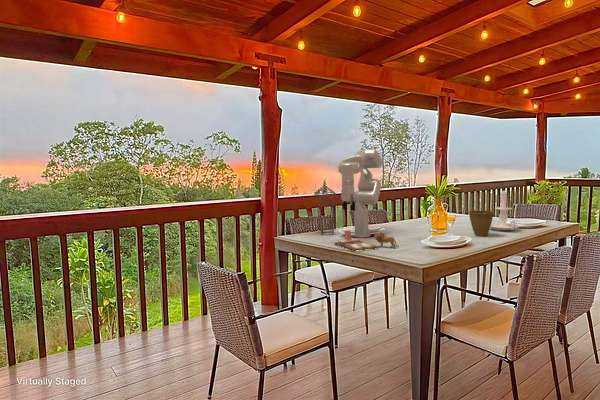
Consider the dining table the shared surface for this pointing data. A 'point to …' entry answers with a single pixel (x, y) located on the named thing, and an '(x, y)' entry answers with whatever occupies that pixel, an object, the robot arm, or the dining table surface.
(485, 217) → the plant pot
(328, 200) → the geometric lantern
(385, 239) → the lion figurine
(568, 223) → the dining table surface
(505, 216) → the candlestick
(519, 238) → the dining table surface
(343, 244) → the ticket board
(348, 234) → the stub
